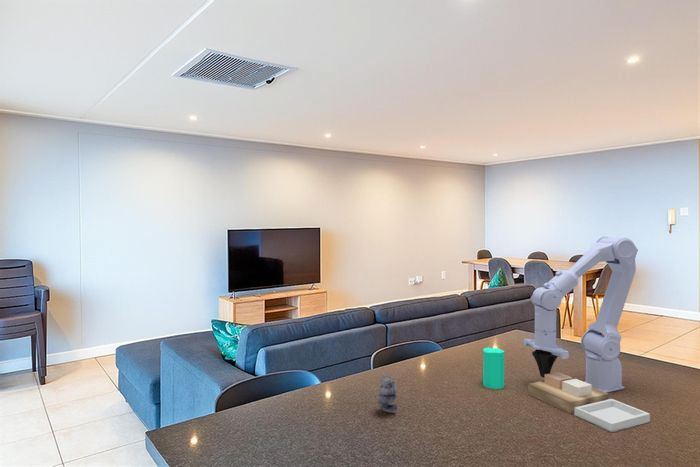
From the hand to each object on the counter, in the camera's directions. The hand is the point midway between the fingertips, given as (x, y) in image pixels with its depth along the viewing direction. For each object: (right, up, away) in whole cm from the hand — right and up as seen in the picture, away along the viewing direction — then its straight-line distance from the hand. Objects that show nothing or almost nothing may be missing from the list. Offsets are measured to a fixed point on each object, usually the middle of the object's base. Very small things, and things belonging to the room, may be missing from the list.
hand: (544, 376), depth 130 cm
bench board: (+3, -4, -7) cm, 9 cm away
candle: (-14, -4, +4) cm, 15 cm away
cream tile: (+4, -1, -10) cm, 11 cm away
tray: (+8, -4, -19) cm, 21 cm away
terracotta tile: (+2, -1, -4) cm, 5 cm away
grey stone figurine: (-47, -5, -15) cm, 49 cm away
